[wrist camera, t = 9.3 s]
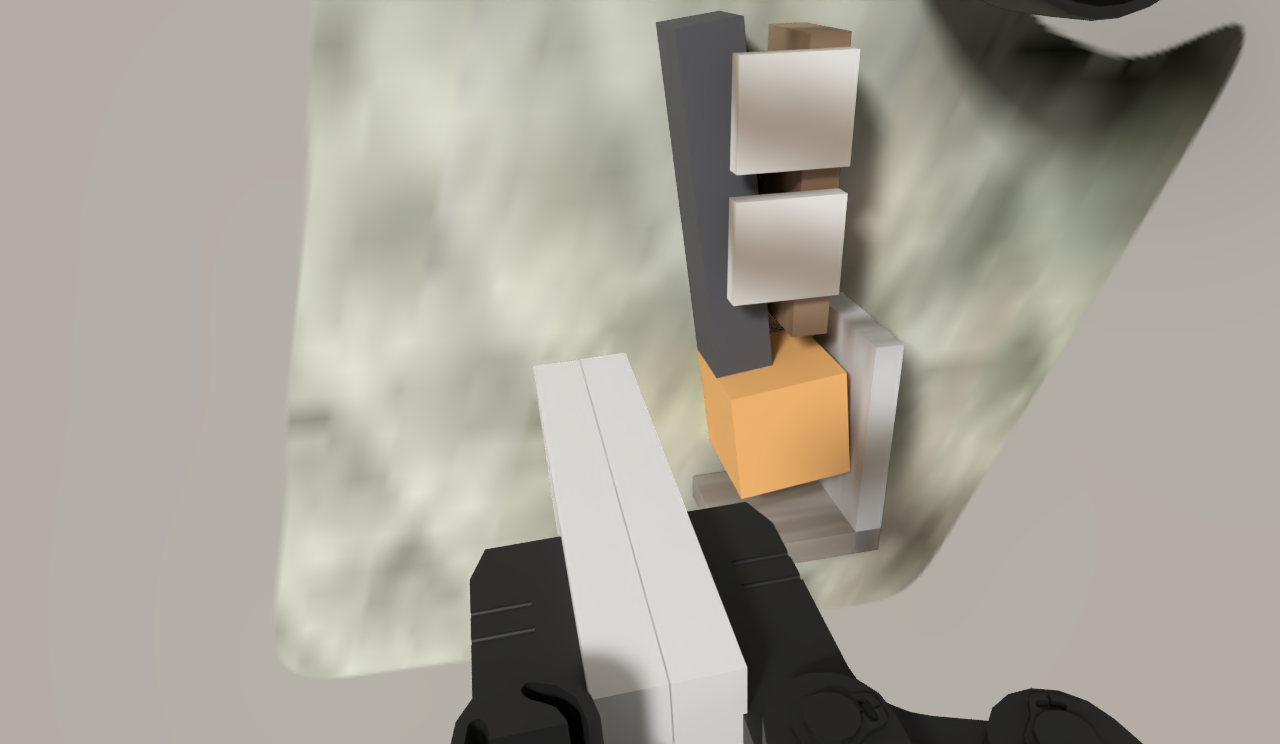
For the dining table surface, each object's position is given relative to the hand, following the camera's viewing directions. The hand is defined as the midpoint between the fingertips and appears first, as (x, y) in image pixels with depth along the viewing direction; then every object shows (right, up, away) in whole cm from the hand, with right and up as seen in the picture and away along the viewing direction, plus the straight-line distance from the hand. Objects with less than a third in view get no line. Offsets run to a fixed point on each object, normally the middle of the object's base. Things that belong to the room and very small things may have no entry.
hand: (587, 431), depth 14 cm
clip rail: (+7, +5, +23) cm, 25 cm away
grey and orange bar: (+5, +6, +22) cm, 24 cm away
